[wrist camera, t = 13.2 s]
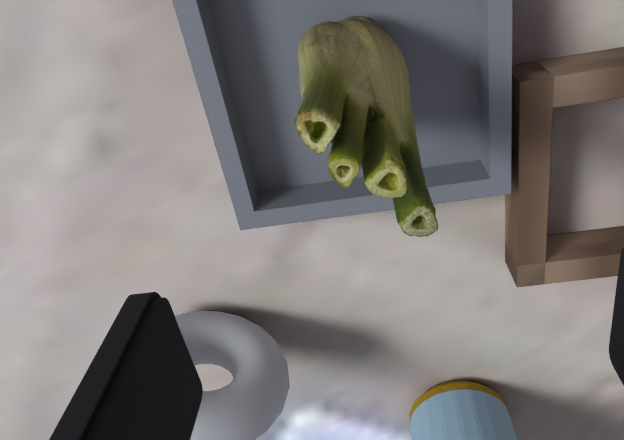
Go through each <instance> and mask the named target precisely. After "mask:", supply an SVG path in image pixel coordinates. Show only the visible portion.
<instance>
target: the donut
mask: <svg viewBox="0 0 624 440" xmlns="http://www.w3.org/2000/svg"><path fill="white" fill-rule="evenodd" d="M175 318H176V321H177V323H178V326H179V328H180V331H181V333H182V336H183V338H184V341H185V343H186V346H187V348H188V351H189V353H190V356H191V358H192V361H193V363H194V365H198V364H214V365H218V366H221V367H223V368H225V369H227V370H229V371H230V372H231V373H232V375H233V377H234V379H233V381H232V382H231V383H230V384H229V385H227V386H225V387H223V388H221V389H218V390H214V391H203V394H202V401H201V404H200V408H199V411H198V415H197V418H196V422H195V425H194V429H193V432H192V435H191V439H190V440H255V439H256V438H258V437H259V436H261V435H262V434H264V433H265V432H266V431H267V430H268V429H269V428H270V426H271V425H272V424H273V423H274V421H275V420H276V419H277V417H278V416H279V415H280V414H281V412H282V409H283V407H284V403H285V400H286V397H287V393H288V390H289V376H288V366H287V361H286V359H285V357H284V355H283V353H282V351H281V349H280V348H279V346H278V344H277V342H276V340H275V339H274V338H273V337H271V336H270V335H269V334H268V333H267V332H266V331H265V330H264V329H263V328H262V327H260V326H258V325H256V324H254V323H252V322H250V321H249V320H247V319H245V318H243V317H240V316H237V315H232V314H228V313H224V312H220V311H196V312H190V313H185V314H179V315H176V316H175Z"/></svg>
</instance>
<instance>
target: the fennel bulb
mask: <svg viewBox="0 0 624 440" xmlns="http://www.w3.org/2000/svg"><path fill="white" fill-rule="evenodd" d="M298 65H299V88H300V95H301V97H302V104H301V106H300V109H299V111H298V113H297V117H296V118H295V120H294V122H295V125H296V129H297V131H298V135H299V137H300V138H301V139H302V141H303V142H304V144H305V145H306V146H307V147H308V148H310V150H312V151H314V152H316V153H319V154H320V153H322V152H324V151H325V150H326V149H327V147H328V145H329V143H330V142H331V144H332V146H331V151H330V153H329V156H328V159H329V163H328V169H329V173H330V175H331V177H332V178H333V179H334V180H335V181H336V182H337V183H338V184H339V185H340V186H343V187H349V186H350V184H351V183H352V181H353V179H354V178H355V177H356V175H357V174H358V172H359V170H360V167H362V170H363V176H364V181H365V185H366V187H367V188H368V190H369V191H370V192H371V193H372V194H374V195H375V196H381V197H389V198H392V199H393V203H394V208H395V212H396V218H397V222H398V224H399V225H400V227H401V229H402V231H403V232H404V233H406V234H407V235H409V236H412V235H415V236H419V237H421V236H429V235H430V234H432V233H434V232H435V231H437V229H438V223H437V219H436V217H435V208H434V206H433V203H432V200H431V197H430V194H429V191H428V189H427V187H426V185H425V177H424V173H423V169H422V166H421V160H420V155H419V147H418V141H417V136H416V127H415V123H414V118H413V113H412V107H411V100H410V84H409V73H408V69H407V65H406V62H405V59H404V57H403V55H402V52H401V50H400V49H399V47H398V45H397V44H396V42H395V41H394V40H393V38H392V36H391V35H390V33H389V32H388V31H387V29H386V28H385V27H384V26H382V25H381V24H380V23H378V22H376V21H374V20H372V19H371V18H368V17H365V16H351V17H348V18H346V19H344V20H341V21H338V22H331V21H327V22H322V23H320V24H316V25H314V26H313V27H311V28H310V29H309V30H308V31H307V32H306V33H305V34H304V36H303V37H302V38H301V40H300V42H299V44H298Z"/></svg>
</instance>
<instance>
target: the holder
mask: <svg viewBox="0 0 624 440" xmlns="http://www.w3.org/2000/svg"><path fill="white" fill-rule="evenodd" d="M621 97H624V47H621V48H615V49H609V50H603V51H597V52H590V53H584V54H578V55H572V56H566V57H560V58H554V59H548V60H542V61H536V62H530V63H523V64H517V65H512V129H511V194H505V262H506V264H507V266H508V268H509V271H510V273H511V275H512V277H513V279H514V282H515V284H516V286H517V287H523V286H532V285H541V284H549V283H558V282H567V281H576V280H584V279H593V278H602V277H611V276H618V271H619V263H620V255H621V250H622V248H623V247H624V226H621V227H613V228H605V229H597V230H589V231H581V232H573V233H565V234H557V235H549V236H547V219H548V198H549V178H550V157H551V136H552V115H553V108H556V107H563V106H569V105H576V104H582V103H589V102H595V101H602V100H608V99H615V98H621Z"/></svg>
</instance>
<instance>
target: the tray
mask: <svg viewBox="0 0 624 440" xmlns="http://www.w3.org/2000/svg"><path fill="white" fill-rule="evenodd" d="M172 1H173V4H174V8H175V11H176V15H177V18H178V21H179V25H180V28H181V31H182V35H183V38H184V41H185V45H186V48H187V52H188V55H189V58H190V62H191V65H192V68H193V72H194V75H195V79H196V82H197V85H198V89H199V92H200V95H201V99H202V102H203V106H204V109H205V112H206V116H207V119H208V122H209V126H210V129H211V132H212V136H213V139H214V143H215V146H216V149H217V153H218V156H219V159H220V163H221V166H222V170H223V173H224V176H225V180H226V183H227V186H228V190H229V193H230V197H231V200H232V203H233V207H234V210H235V213H236V217H237V220H238V223H239V227H240V230H245V229H252V228H260V227H267V226H275V225H282V224H289V223H297V222H304V221H312V220H319V219H326V218H334V217H341V216H348V215H356V214H363V213H371V212H378V211H385V210H393V209H395V208H394V203H393V199H392V198H389V197H381V196H375V195H374V194H372V193H371V192H370V191H369V190H368V188H367V187H366V185H365V181H364V176H363V170H362V167H360V170H359V172H358V174H357V175H356V177H355V178H354V179H353V181H352V183H351V184H350V186H349V187H343V186H340V185H339V184H338V183H337V182H336V181H335V180H334V179H333V178H332V177H331V175H330V173H329V169H328V163H329V159H328V156H329V153H330V151H331V146H332V144H331V142H330V143H329V145H328V147H327V149H326V150H325V151H324V152H322V153H320V154H319V153H316V152H314V151H312V150H310V148H308V147H307V146H306V145H305V144H304V142H303V141H302V139H301V138H300V137H299V135H298V131H297V129H296V125H295V122H294V120H295V118H296V117H297V113H298V111H299V109H300V106H301V104H302V97H301V95H300V88H299V65H298V44H299V42H300V40H301V38H302V37H303V36H304V34H305V33H306V32H307V31H308V30H309V29H310V28H311V27H313V26H314V25H316V24H320V23H322V22H327V21H331V22H338V21H341V20H344V19H346V18H348V17H351V16H365V17H368V18H371V19H372V20H374V21H376V22H378V23H380V24H381V25H382V26H384V27H385V28H386V29H387V31H388V32H389V33H390V35H391V36H392V38H393V40H394V41H395V42H396V44H397V45H398V47H399V49H400V50H401V52H402V55H403V57H404V59H405V62H406V65H407V69H408V73H409V84H410V100H411V107H412V113H413V118H414V123H415V127H416V136H417V141H418V147H419V155H420V160H421V166H422V169H423V173H424V177H425V185H426V187H427V189H428V191H429V194H430V197H431V200H432V203H433V204H437V203H445V202H452V201H459V200H467V199H474V198H482V197H489V196H496V195H504V194H511V129H512V0H172Z"/></svg>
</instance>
